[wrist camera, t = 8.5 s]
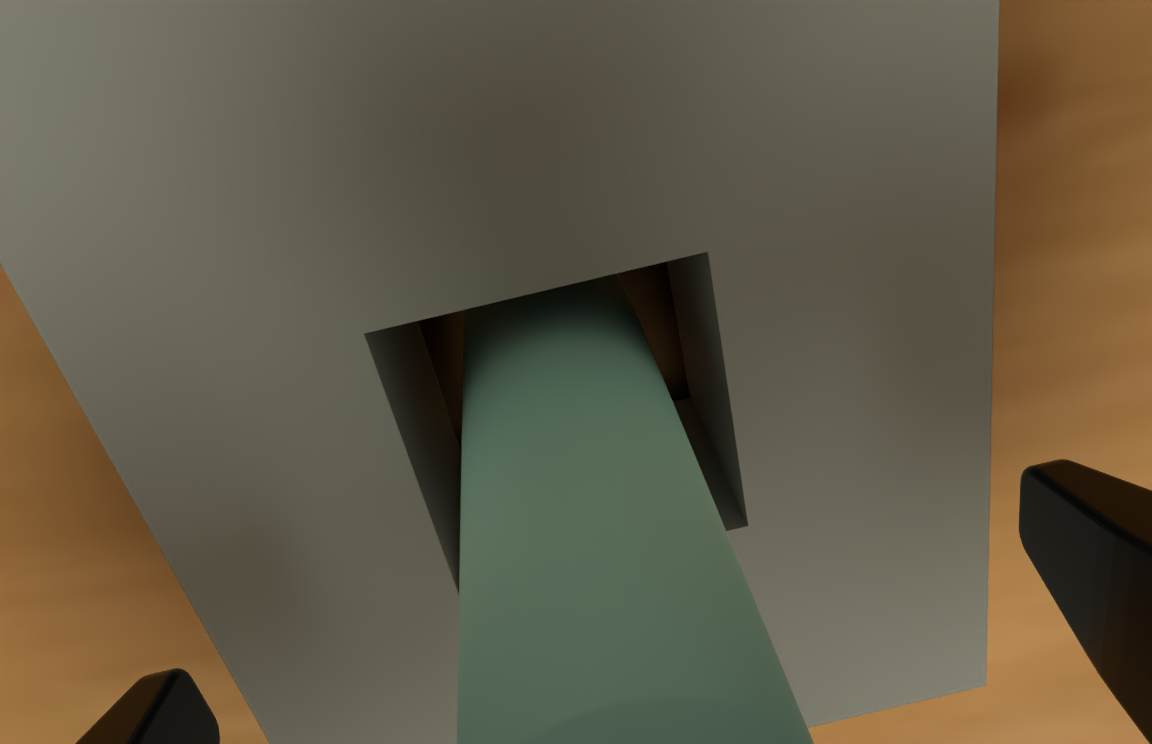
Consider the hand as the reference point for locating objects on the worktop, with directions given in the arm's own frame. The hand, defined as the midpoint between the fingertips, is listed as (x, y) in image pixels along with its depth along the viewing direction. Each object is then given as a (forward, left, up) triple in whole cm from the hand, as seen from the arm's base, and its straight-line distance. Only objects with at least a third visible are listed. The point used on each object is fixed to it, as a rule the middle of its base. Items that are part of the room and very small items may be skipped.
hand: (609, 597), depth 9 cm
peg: (0, 0, -7) cm, 7 cm away
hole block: (0, 0, -7) cm, 7 cm away
